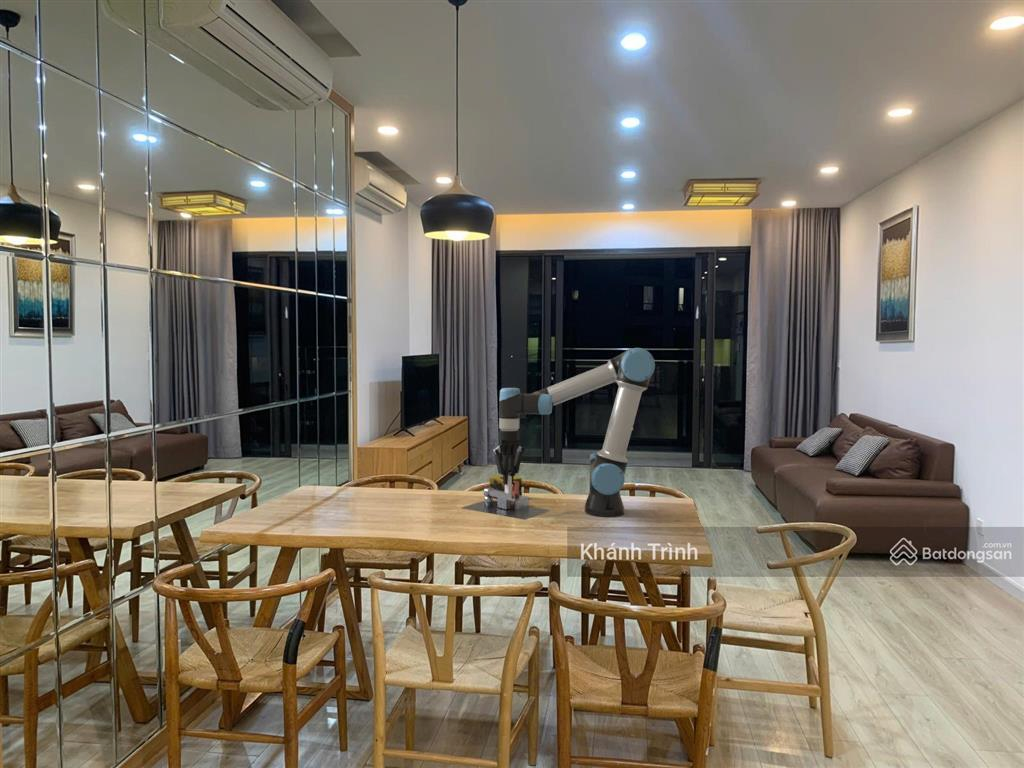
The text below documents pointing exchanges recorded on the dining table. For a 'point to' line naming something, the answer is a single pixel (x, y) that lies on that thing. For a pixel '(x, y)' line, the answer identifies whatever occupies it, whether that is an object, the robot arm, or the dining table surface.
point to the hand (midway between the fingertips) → (508, 492)
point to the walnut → (512, 505)
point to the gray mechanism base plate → (519, 512)
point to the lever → (504, 495)
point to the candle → (498, 484)
